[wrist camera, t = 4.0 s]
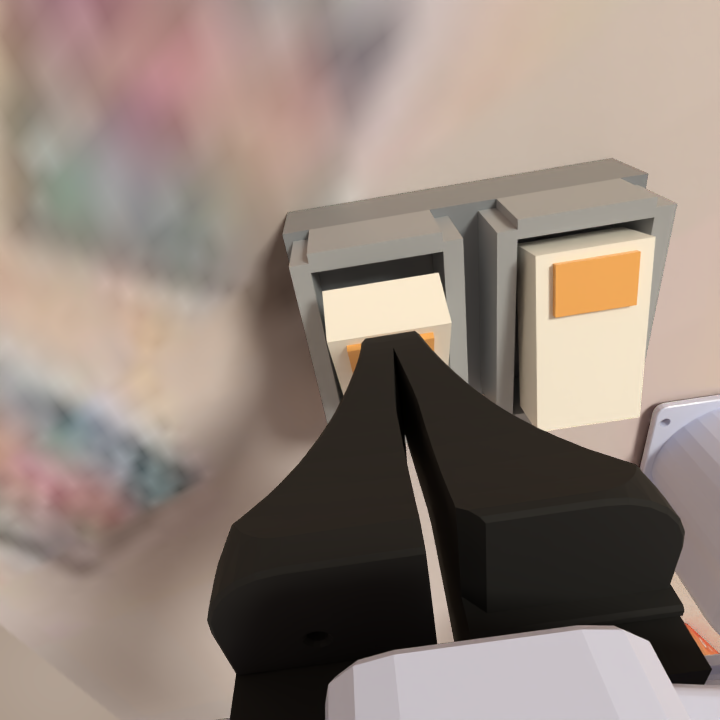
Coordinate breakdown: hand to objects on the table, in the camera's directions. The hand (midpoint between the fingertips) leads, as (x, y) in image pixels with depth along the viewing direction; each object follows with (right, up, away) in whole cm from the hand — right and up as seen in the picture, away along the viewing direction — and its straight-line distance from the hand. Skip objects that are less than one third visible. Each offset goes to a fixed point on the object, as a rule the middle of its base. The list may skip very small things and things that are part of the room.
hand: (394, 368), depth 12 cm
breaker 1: (0, 0, +4) cm, 4 cm away
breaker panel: (+3, +3, +8) cm, 9 cm away
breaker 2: (+6, +1, +4) cm, 7 cm away
